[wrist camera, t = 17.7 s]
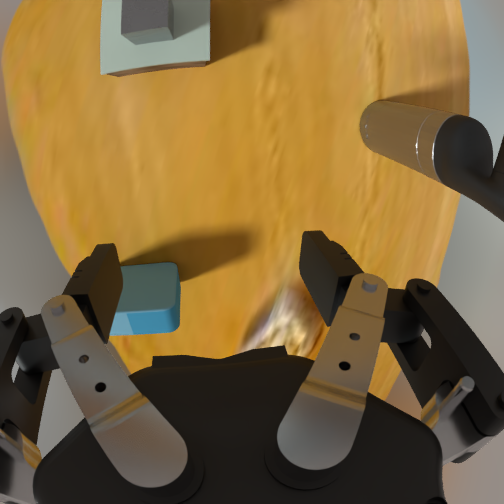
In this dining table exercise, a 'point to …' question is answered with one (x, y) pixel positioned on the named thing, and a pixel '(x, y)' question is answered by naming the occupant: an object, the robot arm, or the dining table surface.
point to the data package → (148, 300)
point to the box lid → (157, 53)
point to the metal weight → (147, 21)
